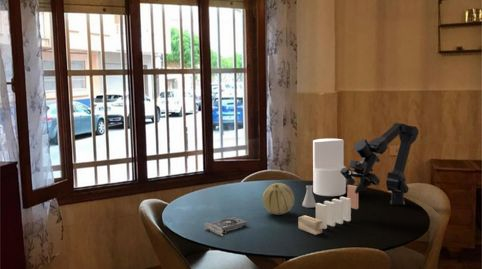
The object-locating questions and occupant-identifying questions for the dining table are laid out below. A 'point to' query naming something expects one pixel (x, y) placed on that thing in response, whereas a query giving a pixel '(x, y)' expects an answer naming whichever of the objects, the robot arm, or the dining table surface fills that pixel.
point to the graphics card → (225, 225)
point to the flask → (309, 198)
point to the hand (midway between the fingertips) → (350, 191)
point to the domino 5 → (352, 196)
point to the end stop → (310, 224)
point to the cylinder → (328, 167)
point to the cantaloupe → (278, 198)
